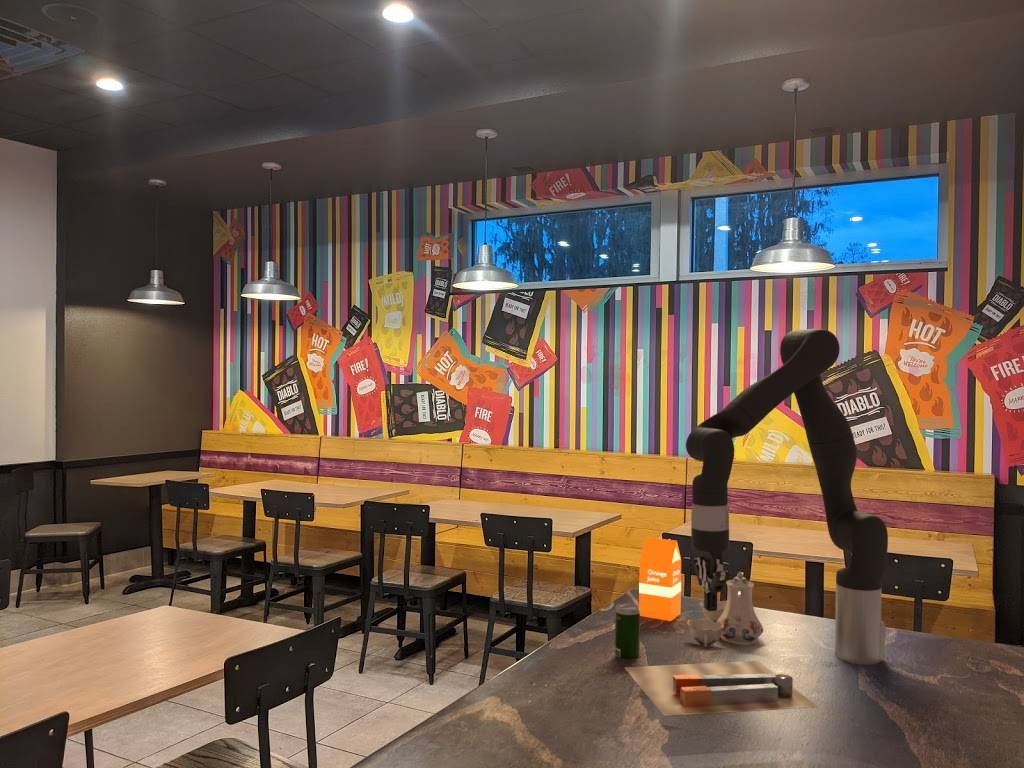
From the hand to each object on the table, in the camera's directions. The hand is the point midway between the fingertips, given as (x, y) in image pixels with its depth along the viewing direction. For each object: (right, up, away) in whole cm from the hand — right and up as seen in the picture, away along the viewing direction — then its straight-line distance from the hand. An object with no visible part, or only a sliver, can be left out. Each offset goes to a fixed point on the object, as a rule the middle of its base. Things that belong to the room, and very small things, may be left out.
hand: (710, 609), depth 163 cm
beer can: (-15, -15, +12) cm, 24 cm away
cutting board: (0, -15, -6) cm, 16 cm away
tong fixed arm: (0, -14, -14) cm, 19 cm away
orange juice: (-2, -15, +46) cm, 49 cm away
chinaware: (+11, -15, +29) cm, 34 cm away
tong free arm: (+2, -13, -11) cm, 17 cm away
